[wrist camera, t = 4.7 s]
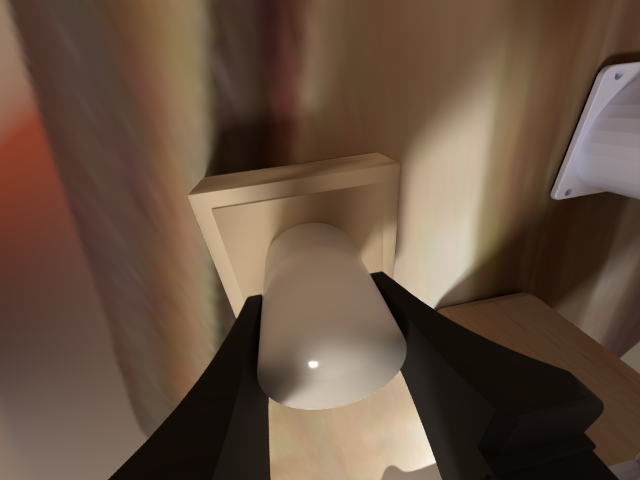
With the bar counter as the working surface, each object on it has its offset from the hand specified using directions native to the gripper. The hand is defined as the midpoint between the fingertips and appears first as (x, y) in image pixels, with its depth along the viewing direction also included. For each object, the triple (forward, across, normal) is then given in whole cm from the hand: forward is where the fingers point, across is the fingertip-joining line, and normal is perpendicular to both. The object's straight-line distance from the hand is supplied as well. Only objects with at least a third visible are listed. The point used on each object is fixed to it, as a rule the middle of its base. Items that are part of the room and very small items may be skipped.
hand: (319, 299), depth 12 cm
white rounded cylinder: (+2, 0, 0) cm, 2 cm away
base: (+6, 0, 0) cm, 6 cm away
